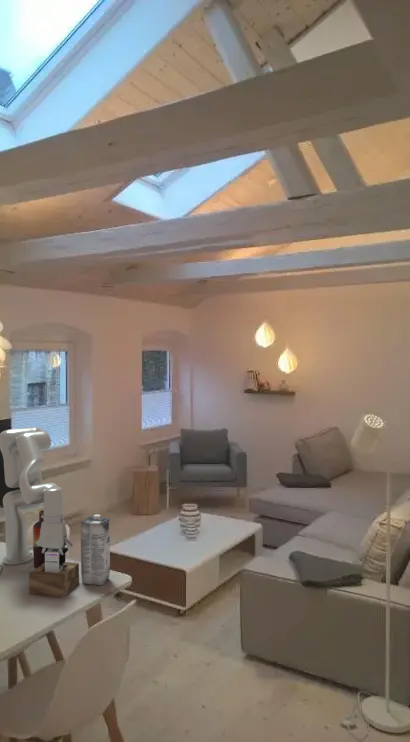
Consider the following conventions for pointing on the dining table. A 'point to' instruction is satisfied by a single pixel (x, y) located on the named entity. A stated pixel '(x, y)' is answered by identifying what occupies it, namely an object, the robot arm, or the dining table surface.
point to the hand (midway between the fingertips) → (54, 562)
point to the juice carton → (95, 550)
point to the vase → (36, 536)
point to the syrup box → (52, 561)
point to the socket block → (54, 580)
